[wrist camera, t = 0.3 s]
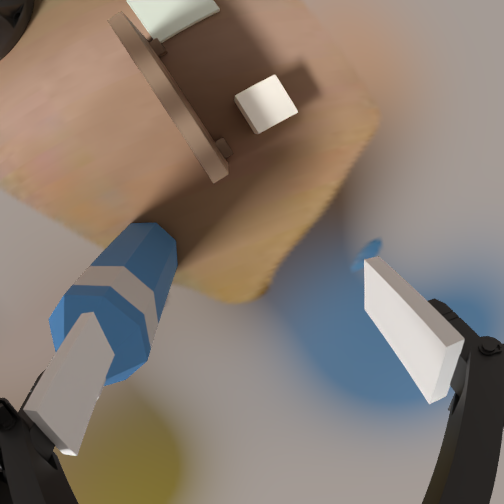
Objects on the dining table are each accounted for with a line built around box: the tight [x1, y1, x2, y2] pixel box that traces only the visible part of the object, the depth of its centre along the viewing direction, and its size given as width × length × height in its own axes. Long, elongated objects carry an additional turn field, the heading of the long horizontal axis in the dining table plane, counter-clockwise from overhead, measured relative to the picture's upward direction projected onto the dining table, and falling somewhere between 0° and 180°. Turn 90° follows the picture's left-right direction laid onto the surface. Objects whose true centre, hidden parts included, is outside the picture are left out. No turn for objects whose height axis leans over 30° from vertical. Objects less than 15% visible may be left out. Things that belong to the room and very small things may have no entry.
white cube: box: [234, 75, 298, 134], centre depth 32 cm, size 5×5×5 cm
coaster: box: [127, 0, 220, 43], centre depth 27 cm, size 9×9×1 cm
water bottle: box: [49, 223, 178, 399], centre depth 28 cm, size 9×9×25 cm
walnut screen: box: [107, 11, 233, 184], centre depth 28 cm, size 20×4×11 cm, turn 31°
